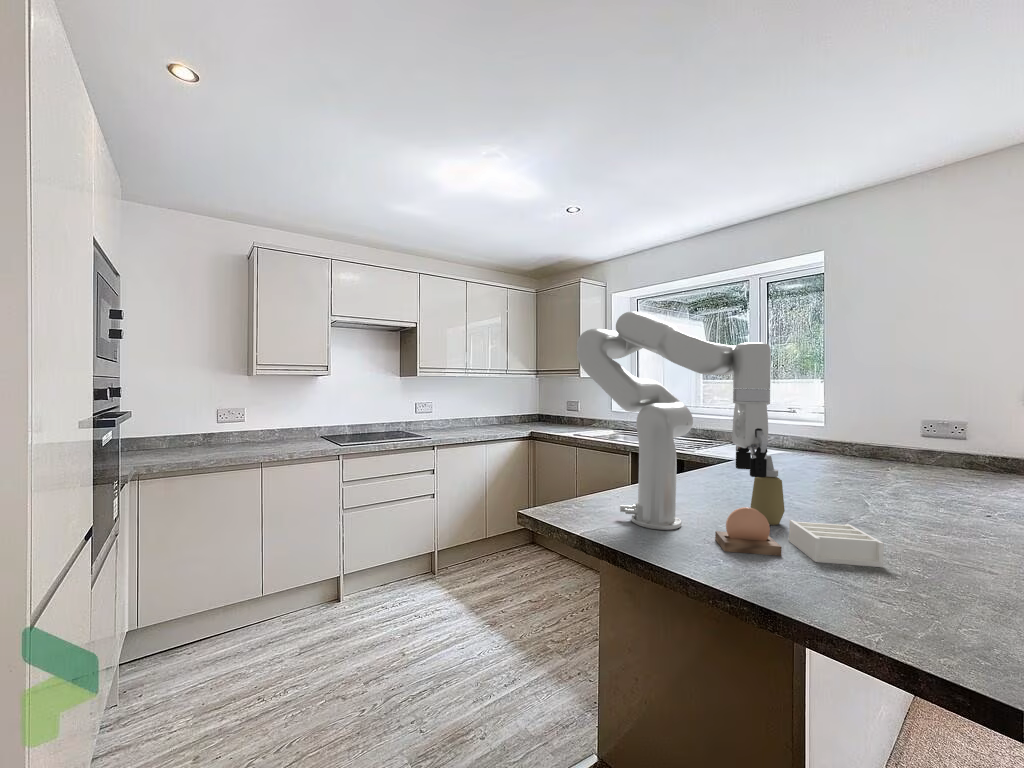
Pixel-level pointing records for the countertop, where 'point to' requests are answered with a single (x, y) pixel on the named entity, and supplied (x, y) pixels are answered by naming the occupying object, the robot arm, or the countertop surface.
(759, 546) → the stand
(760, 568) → the countertop surface
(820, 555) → the rack
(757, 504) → the squeeze bottle
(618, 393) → the robot arm
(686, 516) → the countertop surface
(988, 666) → the countertop surface
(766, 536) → the peach round disc
